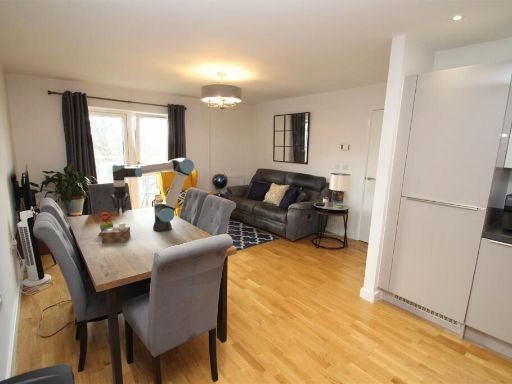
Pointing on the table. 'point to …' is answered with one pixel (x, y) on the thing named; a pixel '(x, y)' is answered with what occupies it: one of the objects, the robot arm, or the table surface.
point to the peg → (122, 226)
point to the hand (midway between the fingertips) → (121, 217)
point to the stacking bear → (105, 222)
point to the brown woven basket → (115, 235)
